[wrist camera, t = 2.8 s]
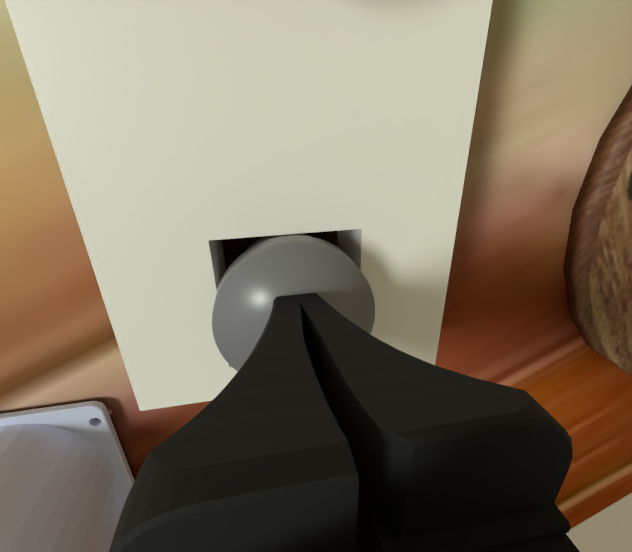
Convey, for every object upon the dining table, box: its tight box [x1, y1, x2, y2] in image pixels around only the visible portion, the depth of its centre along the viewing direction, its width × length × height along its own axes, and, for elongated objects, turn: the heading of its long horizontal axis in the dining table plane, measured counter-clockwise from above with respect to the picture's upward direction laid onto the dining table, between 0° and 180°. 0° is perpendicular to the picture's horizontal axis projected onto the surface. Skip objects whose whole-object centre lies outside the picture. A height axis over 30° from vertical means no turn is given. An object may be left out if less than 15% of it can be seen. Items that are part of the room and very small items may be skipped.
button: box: [212, 233, 375, 372], centre depth 12 cm, size 5×5×4 cm
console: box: [5, 0, 493, 411], centre depth 11 cm, size 20×12×4 cm, turn 1°
